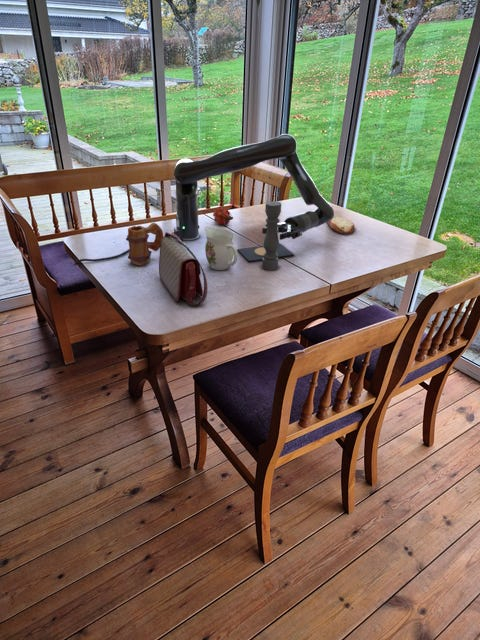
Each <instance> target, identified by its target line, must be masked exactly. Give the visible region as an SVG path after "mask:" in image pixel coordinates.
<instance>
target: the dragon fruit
mask: <svg viewBox="0 0 480 640" xmlns="http://www.w3.org/2000/svg"><path fill="white" fill-rule="evenodd" d="M212 216H213V221H214V222H215V223H218V225H219V224H220V226H225V224H229V223H230V222H231V221H232V220H234V216H232V214H231V212H230V211H229V209H228V207H224V206H222V205H221V206H218V207H217V208H215V209H214V212H213V214H212Z"/></svg>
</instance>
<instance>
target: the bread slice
mask: <svg viewBox="0 0 480 640" xmlns="http://www.w3.org/2000/svg"><path fill="white" fill-rule="evenodd" d="M326 223H327V225H328V226H329V227H330V228H331V229H332V230H333V231H335V232H336V233H338V234H340V235H341V234H342V235H344V236H345V235H351V234H353V232H354V231H355V230H356V228H355V223H354V222H352V220H348V219H346V218H345V217H340V216H335V215H334V217H333V219H332V220H330V221H328V222H326Z"/></svg>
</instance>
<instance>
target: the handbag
mask: <svg viewBox="0 0 480 640" xmlns="http://www.w3.org/2000/svg"><path fill="white" fill-rule="evenodd" d="M173 232H174V231H166V232H165V234H164V235H163V237H162V238H161V243H160V248H159V257H158V258H159V259H158V275H159V279H160V281H161V283H162V284H163V285H164V287H165V288H166V289H167V291H168V292H169V294H170V295H171V296H172V298H173V300H174V301H175V302H179V300H180V298H182V299H183V300H186V302H187V303H188V304H189V305H190V306H200V305H202V304H203V303H204V302H205V300H206V298H207V296H208V281H207V276H206V273H205V271H204V268H203V267H202V265H201V263H200V261H199V259H198V258H197V257H196V255H195V254H194V253H193V252H192V250H191V249H190V248H189V247H188V246H187V245H186V244H185V243H184V242H183V240H180V238H179V237H178V236H176V235H175V234H174V233H173ZM201 272H202V277H203V285H202V281H201V276H200V275H201ZM196 294H197V295H198V296H199V297H200V298H201V299H200V300H199V301H198V302H197V303H196V302H194V301H193V300H192V299H195V298H196Z"/></svg>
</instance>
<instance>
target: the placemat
mask: <svg viewBox="0 0 480 640" xmlns="http://www.w3.org/2000/svg"><path fill="white" fill-rule="evenodd" d="M236 249H237V253H238V254H240V255H241V256H242V257H243V258H244V259H245V260H246V261H247V262H248V263H253V262H260V261H263V258H264V257H263V255H264V254H265V252H266V251H265V249H264V246H263V245H259V246H252V247H243V248H236ZM276 253H277V254H278V259H281V258H282V259H283V258H289V257H294V256H295V254H294V253H293V252H292V251H290V250H289V249H288V248H287V247H285V246H284V245H283V244H281V243H279V248H278V249H277V251H276Z"/></svg>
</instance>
